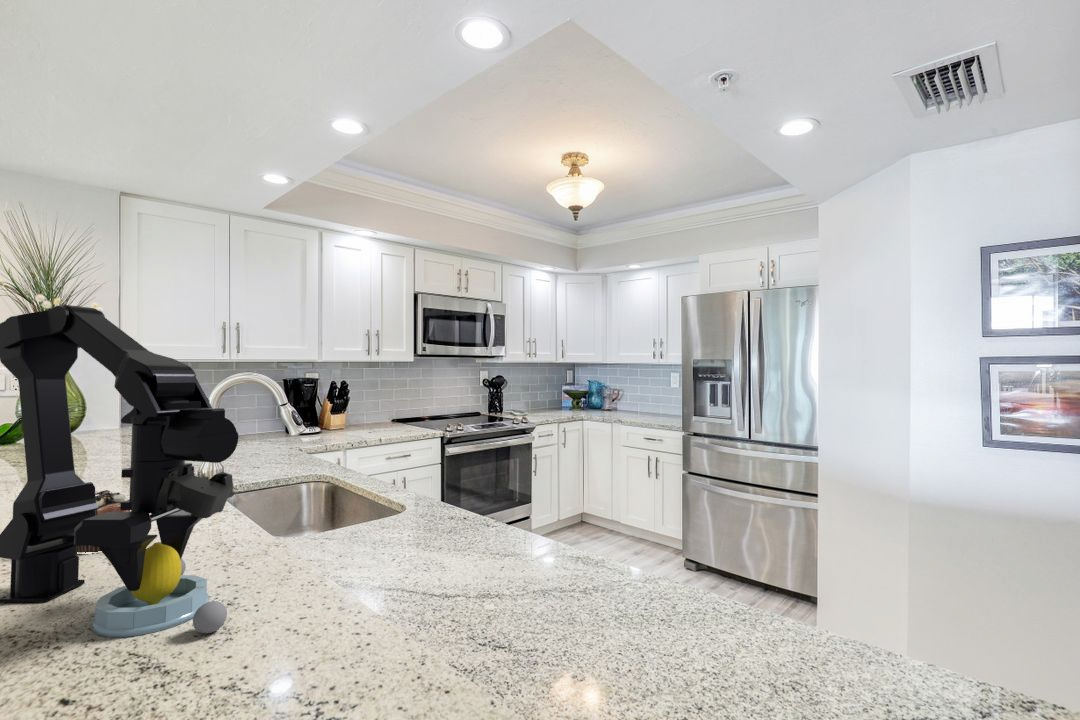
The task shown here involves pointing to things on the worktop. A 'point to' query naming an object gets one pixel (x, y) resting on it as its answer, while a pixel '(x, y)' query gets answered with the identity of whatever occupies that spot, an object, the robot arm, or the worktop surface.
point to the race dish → (148, 609)
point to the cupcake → (105, 504)
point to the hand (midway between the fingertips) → (154, 578)
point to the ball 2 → (209, 617)
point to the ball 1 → (183, 566)
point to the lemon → (159, 573)
